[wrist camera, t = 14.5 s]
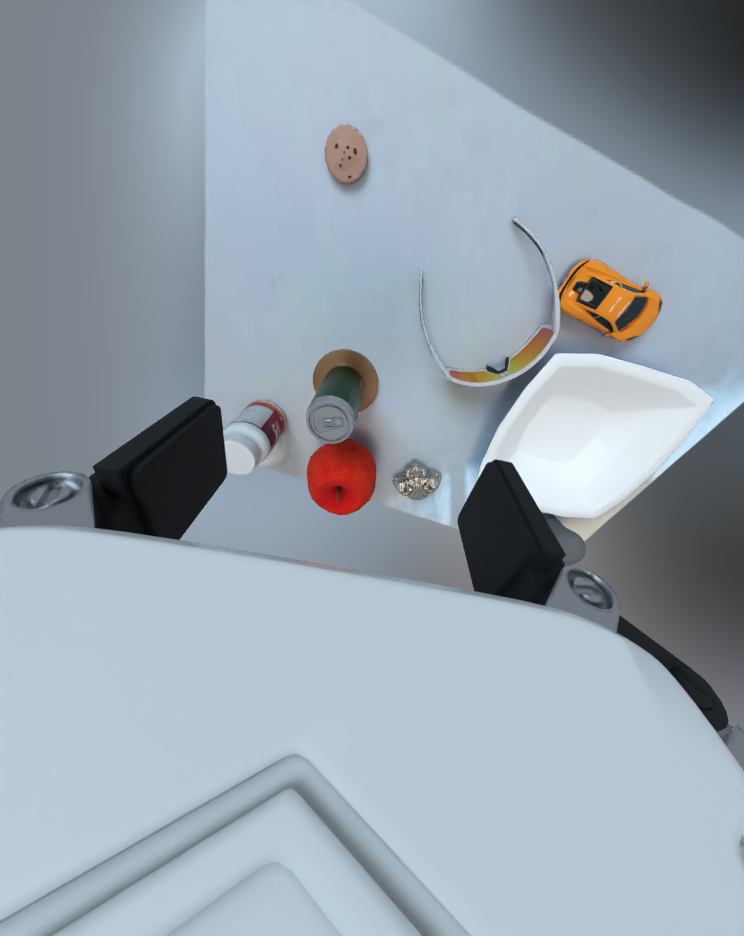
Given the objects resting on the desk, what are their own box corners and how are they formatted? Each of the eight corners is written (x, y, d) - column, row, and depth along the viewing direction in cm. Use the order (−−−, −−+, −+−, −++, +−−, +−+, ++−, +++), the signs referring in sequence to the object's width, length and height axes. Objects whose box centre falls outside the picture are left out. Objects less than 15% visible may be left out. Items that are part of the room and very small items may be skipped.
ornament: (439, 455, 47) (442, 468, 44) (441, 488, 51) (444, 502, 48) (389, 461, 48) (389, 474, 45) (395, 492, 52) (395, 507, 49)
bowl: (529, 327, 36) (550, 338, 31) (694, 377, 38) (737, 394, 33) (454, 470, 48) (461, 493, 44) (581, 501, 51) (600, 526, 46)
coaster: (311, 405, 43) (310, 406, 43) (316, 342, 38) (315, 343, 38) (370, 418, 44) (370, 419, 43) (384, 357, 39) (384, 358, 38)
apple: (304, 442, 47) (281, 491, 37) (354, 411, 43) (343, 457, 33) (342, 483, 51) (330, 537, 42) (390, 459, 48) (389, 512, 38)
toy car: (622, 347, 36) (640, 355, 33) (541, 307, 34) (554, 311, 31) (665, 297, 33) (690, 301, 30) (578, 249, 31) (596, 249, 28)
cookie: (363, 189, 29) (362, 187, 28) (323, 178, 29) (321, 176, 28) (371, 132, 27) (370, 128, 26) (327, 120, 27) (325, 115, 26)
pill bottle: (286, 438, 47) (260, 483, 38) (247, 431, 46) (211, 474, 37) (287, 403, 43) (259, 442, 34) (245, 394, 43) (204, 432, 34)
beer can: (359, 360, 39) (349, 395, 29) (367, 399, 42) (359, 442, 32) (320, 367, 39) (297, 403, 30) (330, 404, 42) (312, 448, 33)
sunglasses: (446, 395, 41) (451, 405, 36) (403, 281, 35) (402, 277, 31) (556, 348, 37) (576, 353, 32) (528, 210, 31) (547, 193, 26)
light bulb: (569, 508, 52) (601, 555, 44) (547, 528, 55) (574, 575, 47) (542, 499, 51) (571, 545, 43) (522, 520, 54) (545, 566, 46)
